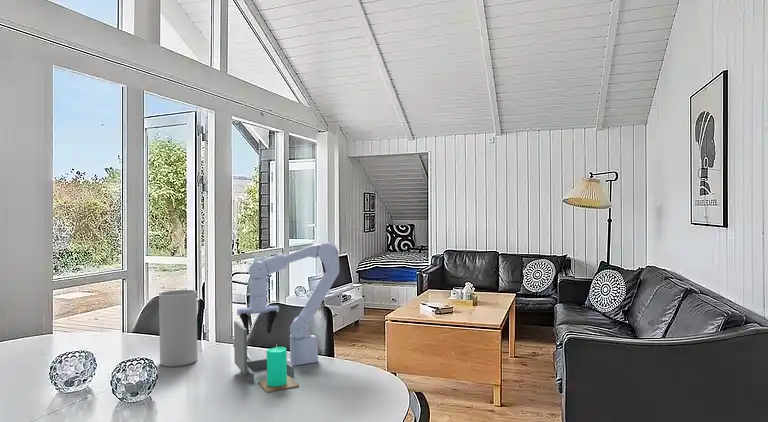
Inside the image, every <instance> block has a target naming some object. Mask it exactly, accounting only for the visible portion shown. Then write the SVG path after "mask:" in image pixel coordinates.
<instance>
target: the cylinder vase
mask: <svg viewBox="0 0 768 422" xmlns="http://www.w3.org/2000/svg"><path fill="white" fill-rule="evenodd" d="M197 293H198V292H197V290H194V289H177V290H175V289H174V290H168V291H167V290H166V291H162V292H159V294H158V310H159V311H158V312H159V315H158V317H159V318H158V319H159V325H158V326H159V363H160V365H162V366H163V367H169V368H171V367H175V368H176V367H184V366H188V365H191V364H194V363H195V362H196V361H197V360H198V311H197V310H198V308H197V307H198V303H197V300H198V299H197V298H198V296H197V295H198V294H197Z"/></svg>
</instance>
